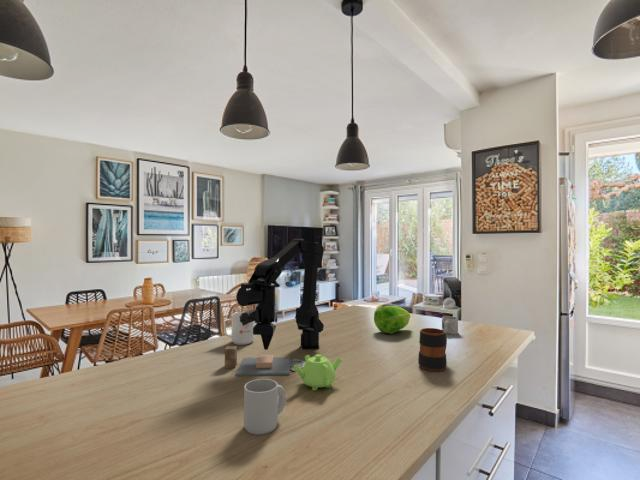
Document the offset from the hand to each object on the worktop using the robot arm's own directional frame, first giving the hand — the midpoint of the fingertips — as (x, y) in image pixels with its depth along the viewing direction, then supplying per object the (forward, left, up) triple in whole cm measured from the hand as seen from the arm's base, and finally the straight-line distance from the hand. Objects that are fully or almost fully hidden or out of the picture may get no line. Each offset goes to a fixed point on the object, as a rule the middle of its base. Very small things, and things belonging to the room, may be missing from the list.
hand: (266, 349), depth 115 cm
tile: (0, -1, -3) cm, 3 cm away
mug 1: (+13, -24, -5) cm, 28 cm away
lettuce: (-53, -39, -5) cm, 66 cm away
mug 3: (-76, -35, -5) cm, 84 cm away
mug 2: (-55, +4, -5) cm, 55 cm away
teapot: (-16, +17, -5) cm, 24 cm away
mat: (0, +3, -5) cm, 6 cm away
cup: (-4, +38, -5) cm, 39 cm away
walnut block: (+11, +2, -5) cm, 12 cm away
